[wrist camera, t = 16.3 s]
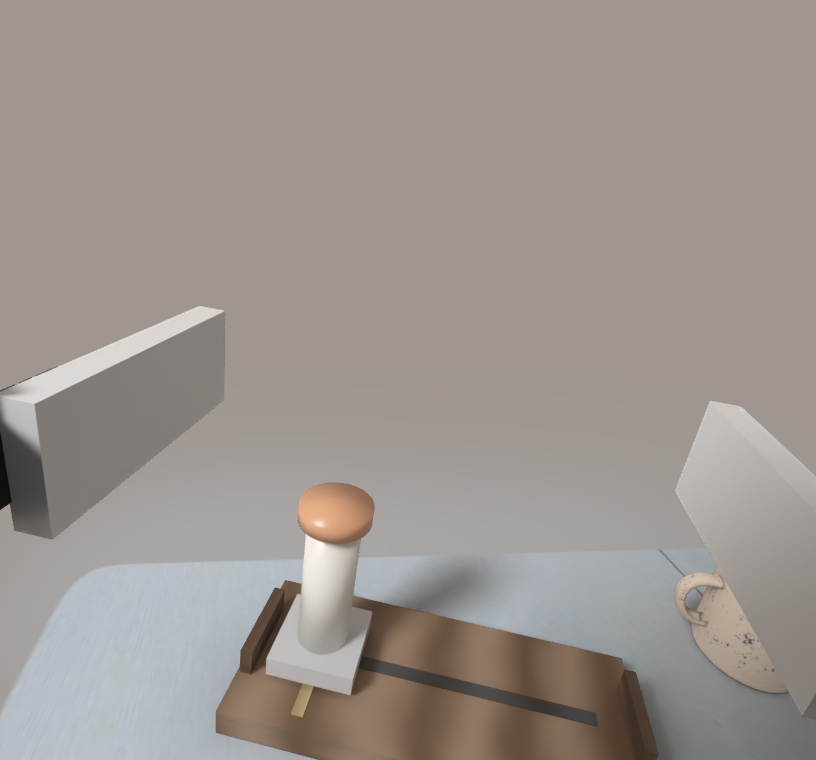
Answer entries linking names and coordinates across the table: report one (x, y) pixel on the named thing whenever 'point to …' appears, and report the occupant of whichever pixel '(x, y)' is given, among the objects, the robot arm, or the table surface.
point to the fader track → (440, 696)
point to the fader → (326, 593)
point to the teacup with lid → (727, 633)
